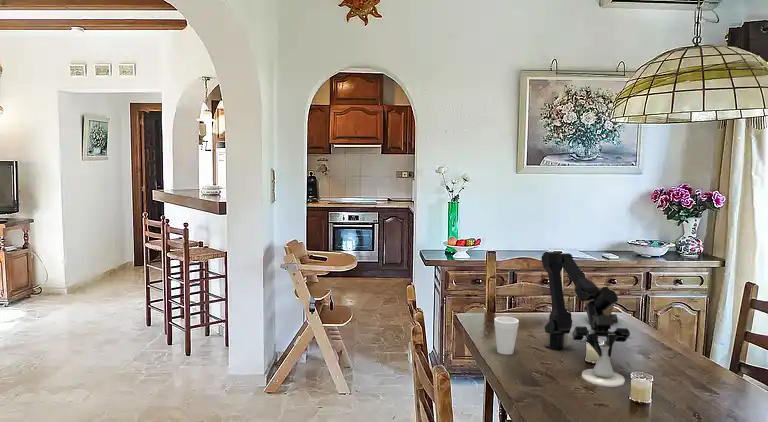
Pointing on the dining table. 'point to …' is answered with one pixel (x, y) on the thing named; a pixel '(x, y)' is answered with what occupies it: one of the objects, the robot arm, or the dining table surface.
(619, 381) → the ceramic plate
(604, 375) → the flask
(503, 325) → the foam cup
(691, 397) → the dining table surface
